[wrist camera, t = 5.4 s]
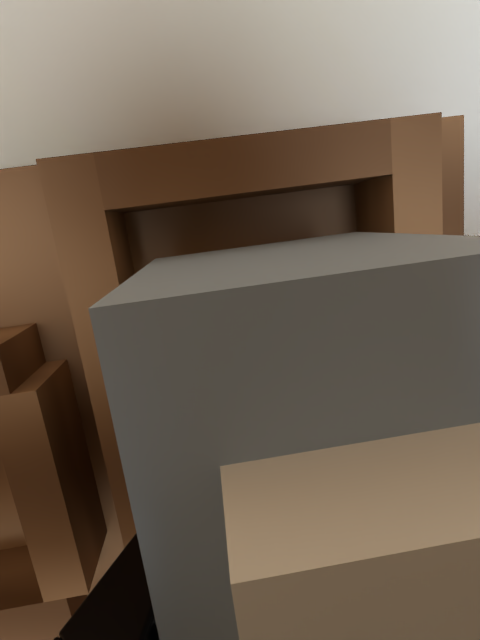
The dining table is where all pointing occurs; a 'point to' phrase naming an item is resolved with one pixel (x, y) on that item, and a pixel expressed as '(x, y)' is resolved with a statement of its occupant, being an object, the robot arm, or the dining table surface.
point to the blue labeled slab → (303, 436)
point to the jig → (123, 262)
